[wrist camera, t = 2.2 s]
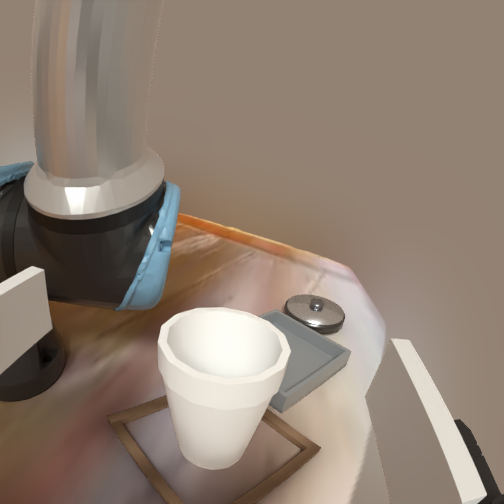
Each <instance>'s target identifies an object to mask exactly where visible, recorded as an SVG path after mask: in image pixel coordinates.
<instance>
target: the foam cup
mask: <svg viewBox="0 0 504 504" xmlns="http://www.w3.org/2000/svg"><path fill="white" fill-rule="evenodd" d="M290 353H291V350H290V347H289V344H288V342H287V339H286V337H285V335H284V334H283V333H282V332H281V331H280V330H278V329H277V328H276V327H275V326H274V325H272V324H271V323H270V322H269V321H267V320H264V319H262V318H260V317H257V316H255V315H253V314H250V313H248V312H244V311H238V310H233V309H228V308H222V307H219V308H196V309H192V310H189V311H185V312H182V313H178V314H176V315H174V316H173V317H172V318H171V319H169V320H168V321H167V322H166V323H164V324H163V325H162V326H161V330H160V335H159V339H158V369H159V371H160V372H161V374H162V376H163V381H164V386H165V391H166V395H167V400H168V405H169V409H170V413H171V418H172V422H173V426H174V430H175V434H176V438H177V442H178V445H179V448H180V450H181V452H182V453H183V455H184V457H185V458H186V459H187V460H188V461H190V462H191V463H193V464H194V465H196V466H197V467H201V468H205V469H210V470H218V469H224V468H229V467H230V466H232V465H233V464H235V463H236V462H238V461H239V460H240V458H241V457H242V455H243V453H244V451H245V449H246V448H247V446H248V444H249V442H250V440H251V438H252V436H253V434H254V432H255V430H256V428H257V426H258V425H259V423H260V421H261V419H262V417H263V415H264V413H265V411H266V409H267V407H268V405H269V402H270V400H271V398H272V396H273V395H274V394H276V393H277V392H278V390H279V387H280V385H281V382H282V380H283V377H284V375H285V371H286V368H287V364H288V360H289V357H290Z"/></svg>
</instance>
